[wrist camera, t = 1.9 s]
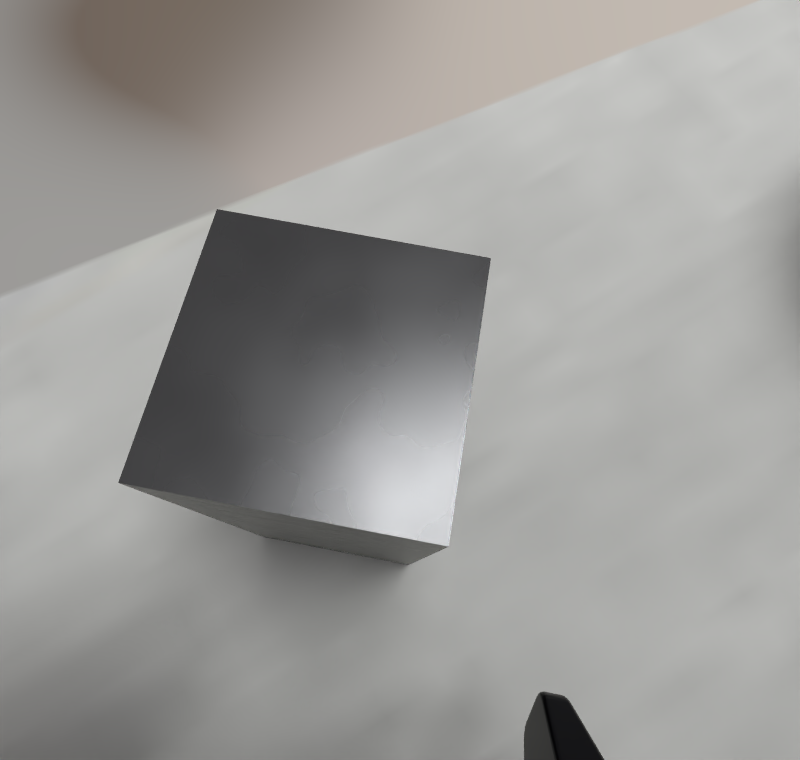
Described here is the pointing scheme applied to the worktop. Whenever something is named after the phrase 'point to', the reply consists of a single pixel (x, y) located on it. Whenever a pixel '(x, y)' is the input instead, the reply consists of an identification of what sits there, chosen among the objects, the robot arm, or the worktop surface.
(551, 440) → the worktop surface
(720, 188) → the worktop surface
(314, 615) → the worktop surface
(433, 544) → the brushed metal block
